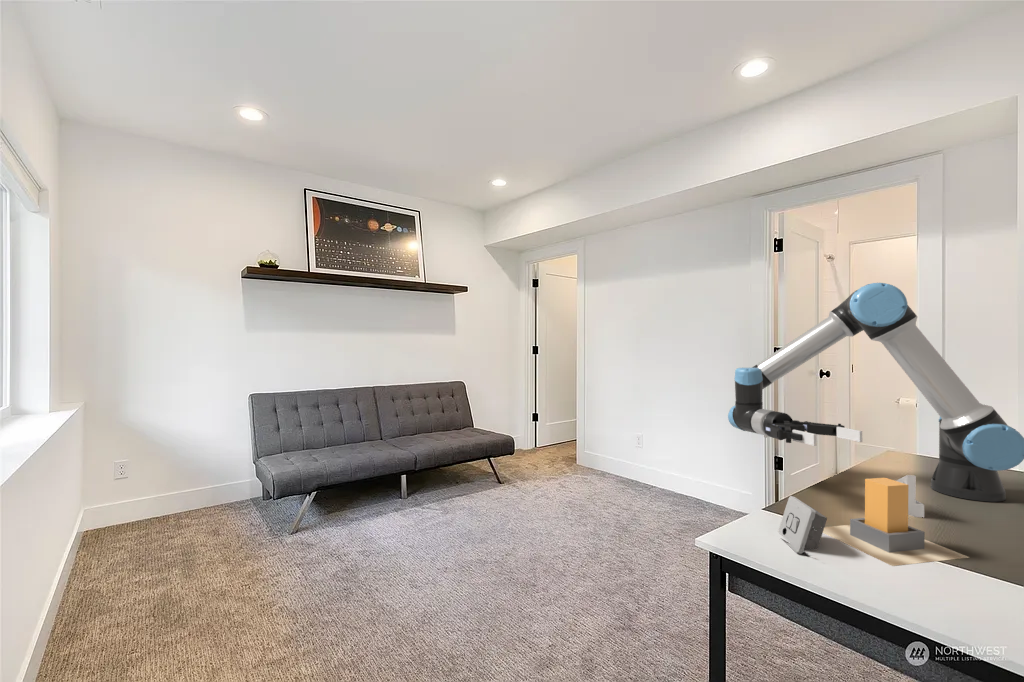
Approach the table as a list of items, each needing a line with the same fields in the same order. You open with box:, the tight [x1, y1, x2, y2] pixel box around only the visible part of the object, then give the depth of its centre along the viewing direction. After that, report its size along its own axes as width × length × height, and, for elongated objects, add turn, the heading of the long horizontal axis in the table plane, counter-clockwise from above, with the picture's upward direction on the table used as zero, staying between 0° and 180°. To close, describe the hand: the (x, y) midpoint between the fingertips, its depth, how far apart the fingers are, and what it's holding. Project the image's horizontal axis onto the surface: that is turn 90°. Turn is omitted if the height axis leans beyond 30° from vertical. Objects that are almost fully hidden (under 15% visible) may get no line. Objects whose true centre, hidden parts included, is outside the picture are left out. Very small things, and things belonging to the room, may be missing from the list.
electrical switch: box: [777, 495, 828, 555], centre depth 100 cm, size 9×5×9 cm, turn 175°
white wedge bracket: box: [895, 474, 925, 519], centre depth 119 cm, size 4×10×9 cm, turn 168°
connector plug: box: [864, 477, 909, 533], centre depth 100 cm, size 5×5×12 cm
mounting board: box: [822, 524, 970, 567], centre depth 100 cm, size 18×18×1 cm
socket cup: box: [849, 517, 926, 553], centre depth 100 cm, size 9×9×3 cm
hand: (838, 438), depth 118 cm, fingers open, 13 cm apart
